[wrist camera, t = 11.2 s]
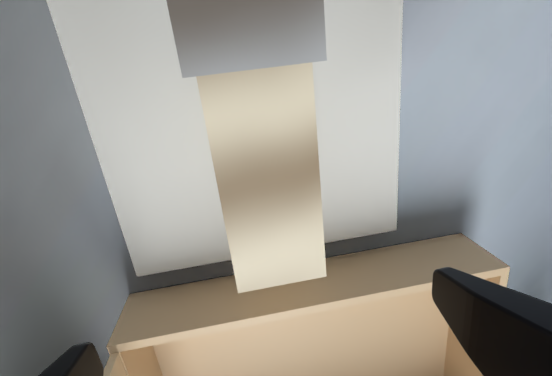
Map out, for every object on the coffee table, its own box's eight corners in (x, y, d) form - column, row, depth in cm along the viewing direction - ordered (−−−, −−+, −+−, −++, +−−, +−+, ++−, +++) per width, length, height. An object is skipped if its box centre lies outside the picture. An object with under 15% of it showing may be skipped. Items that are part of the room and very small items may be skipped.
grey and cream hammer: (308, 224, 19) (337, 280, 14) (228, 238, 18) (229, 301, 13) (286, -31, 14) (319, -87, 9) (178, -21, 14) (150, -75, 9)
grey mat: (139, 270, 19) (136, 276, 18) (37, -48, 13) (28, -53, 13) (392, 226, 20) (396, 230, 20) (398, -77, 15) (405, -83, 14)
